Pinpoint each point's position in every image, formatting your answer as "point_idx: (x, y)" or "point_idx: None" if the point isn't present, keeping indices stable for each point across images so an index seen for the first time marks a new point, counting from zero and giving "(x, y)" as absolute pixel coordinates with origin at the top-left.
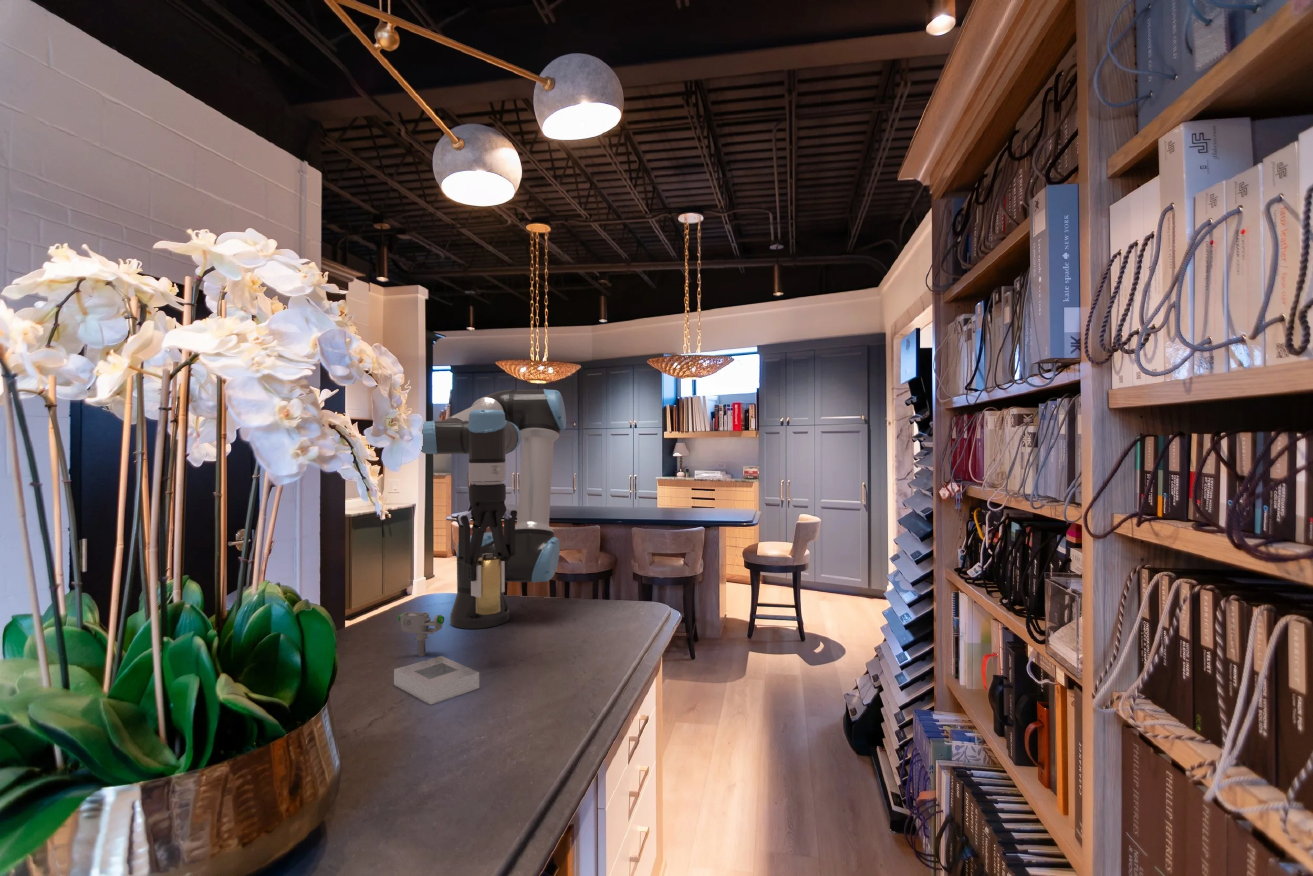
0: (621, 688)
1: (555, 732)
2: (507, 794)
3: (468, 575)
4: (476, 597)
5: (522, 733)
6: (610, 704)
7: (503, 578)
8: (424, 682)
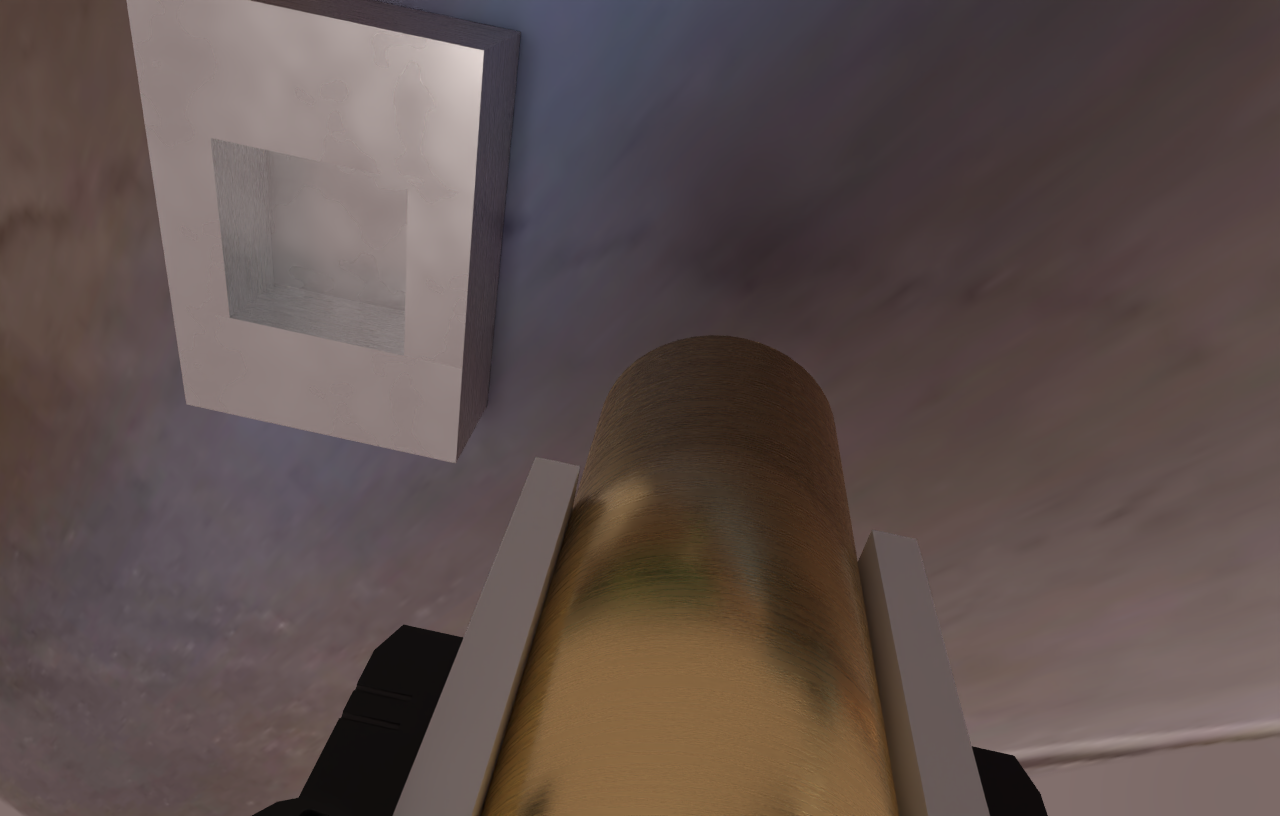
0: None
1: None
2: (187, 788)
3: (355, 703)
4: (578, 490)
5: None
6: None
7: None
8: (190, 331)
